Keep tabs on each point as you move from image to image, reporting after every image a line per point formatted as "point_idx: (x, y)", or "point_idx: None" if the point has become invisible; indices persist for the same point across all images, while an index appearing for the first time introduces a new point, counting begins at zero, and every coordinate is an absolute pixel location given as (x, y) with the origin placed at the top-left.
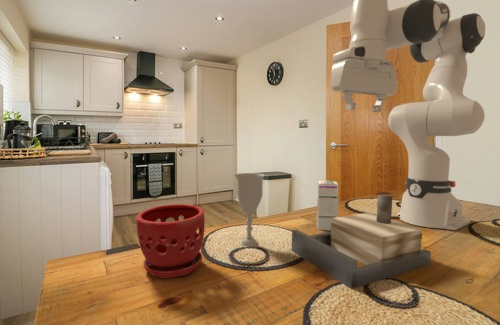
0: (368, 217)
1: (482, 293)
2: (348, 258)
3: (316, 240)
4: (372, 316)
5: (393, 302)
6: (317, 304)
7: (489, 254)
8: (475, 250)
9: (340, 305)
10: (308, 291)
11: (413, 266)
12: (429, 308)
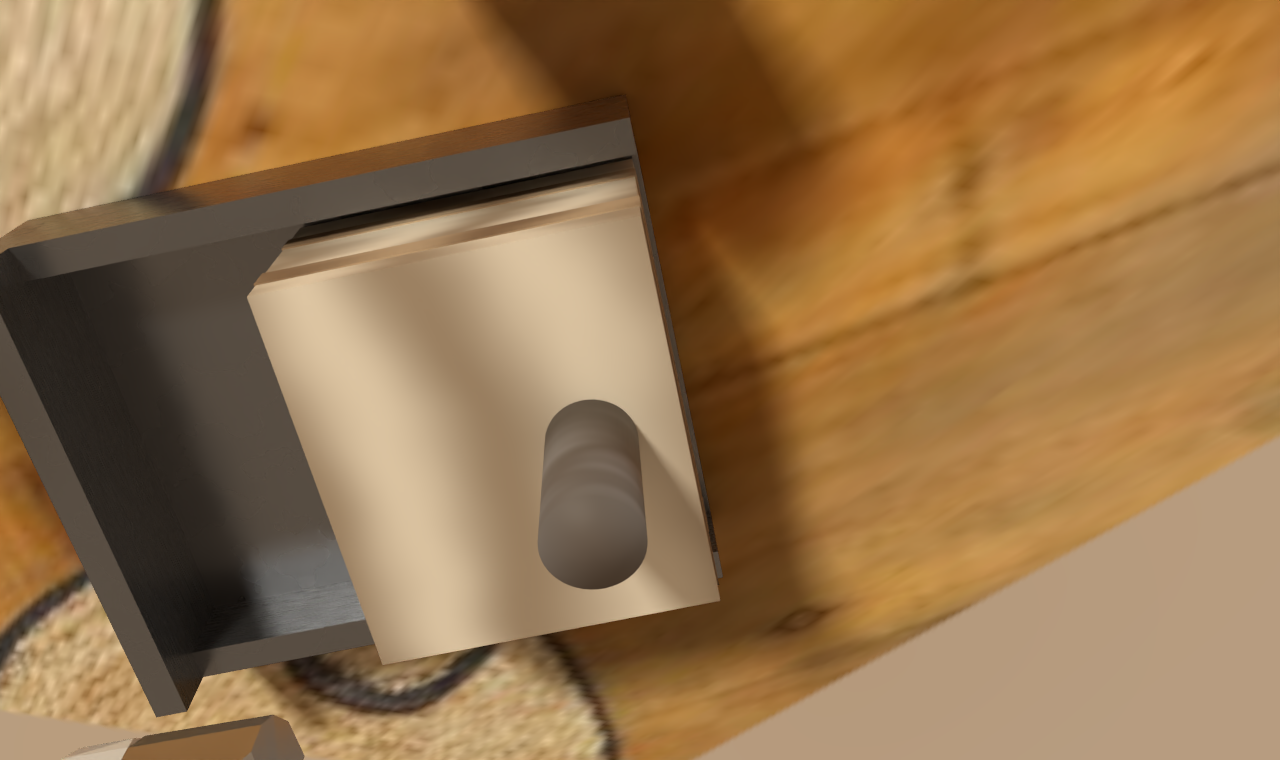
0: (549, 336)
1: (745, 695)
2: (154, 687)
3: (65, 475)
4: None
5: (349, 681)
6: (45, 644)
7: (1229, 440)
8: (1222, 382)
9: None
10: (32, 566)
11: None
12: (455, 727)
